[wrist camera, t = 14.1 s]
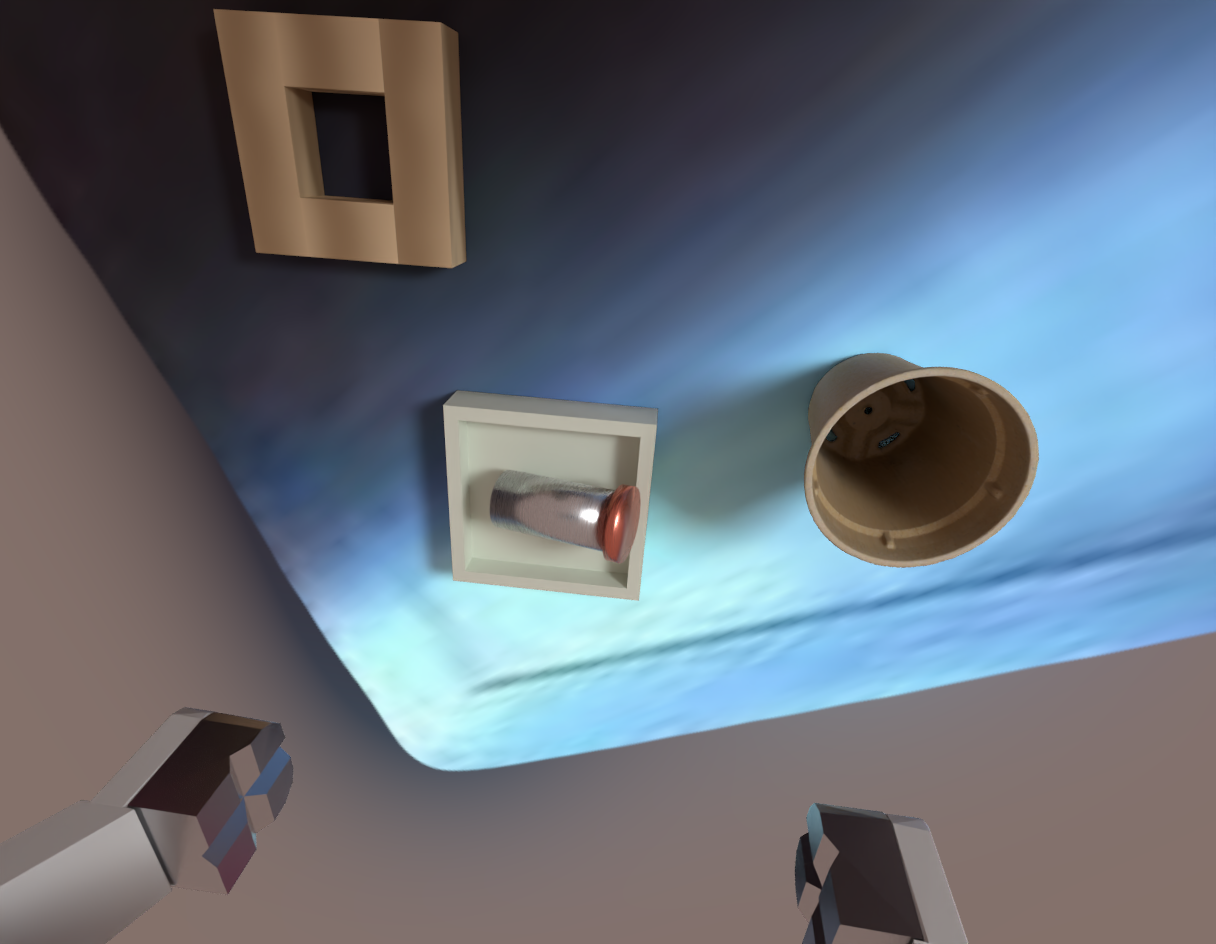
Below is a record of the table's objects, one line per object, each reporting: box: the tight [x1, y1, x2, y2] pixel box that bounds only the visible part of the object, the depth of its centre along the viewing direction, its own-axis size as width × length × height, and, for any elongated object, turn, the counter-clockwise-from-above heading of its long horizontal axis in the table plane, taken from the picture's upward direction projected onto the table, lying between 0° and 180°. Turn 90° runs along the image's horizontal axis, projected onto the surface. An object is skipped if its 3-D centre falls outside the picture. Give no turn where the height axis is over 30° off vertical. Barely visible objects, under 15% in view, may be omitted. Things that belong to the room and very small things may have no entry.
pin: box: [490, 469, 641, 564], centre depth 35 cm, size 4×4×8 cm
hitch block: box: [213, 9, 466, 268], centre depth 30 cm, size 10×10×2 cm
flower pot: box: [804, 353, 1039, 567], centre depth 31 cm, size 9×9×9 cm
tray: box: [443, 390, 658, 601], centre depth 38 cm, size 12×12×2 cm
